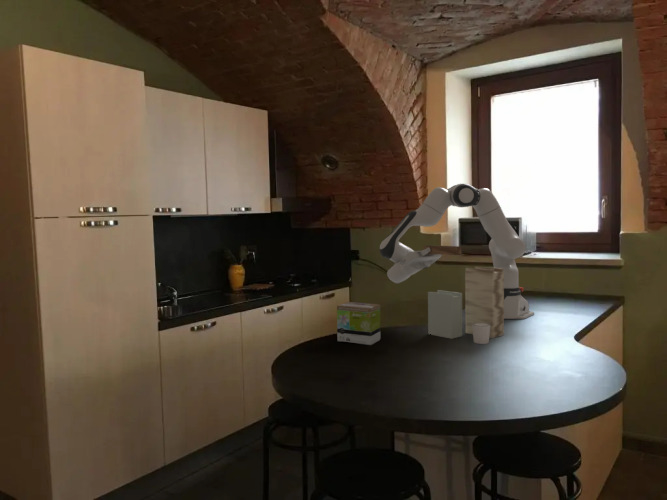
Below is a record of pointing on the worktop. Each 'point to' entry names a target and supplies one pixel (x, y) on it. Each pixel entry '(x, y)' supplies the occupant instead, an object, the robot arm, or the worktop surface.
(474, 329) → the grey brown short cylinder
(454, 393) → the worktop surface
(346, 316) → the tea box
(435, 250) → the walnut bar
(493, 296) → the shelf block
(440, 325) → the block
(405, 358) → the worktop surface
